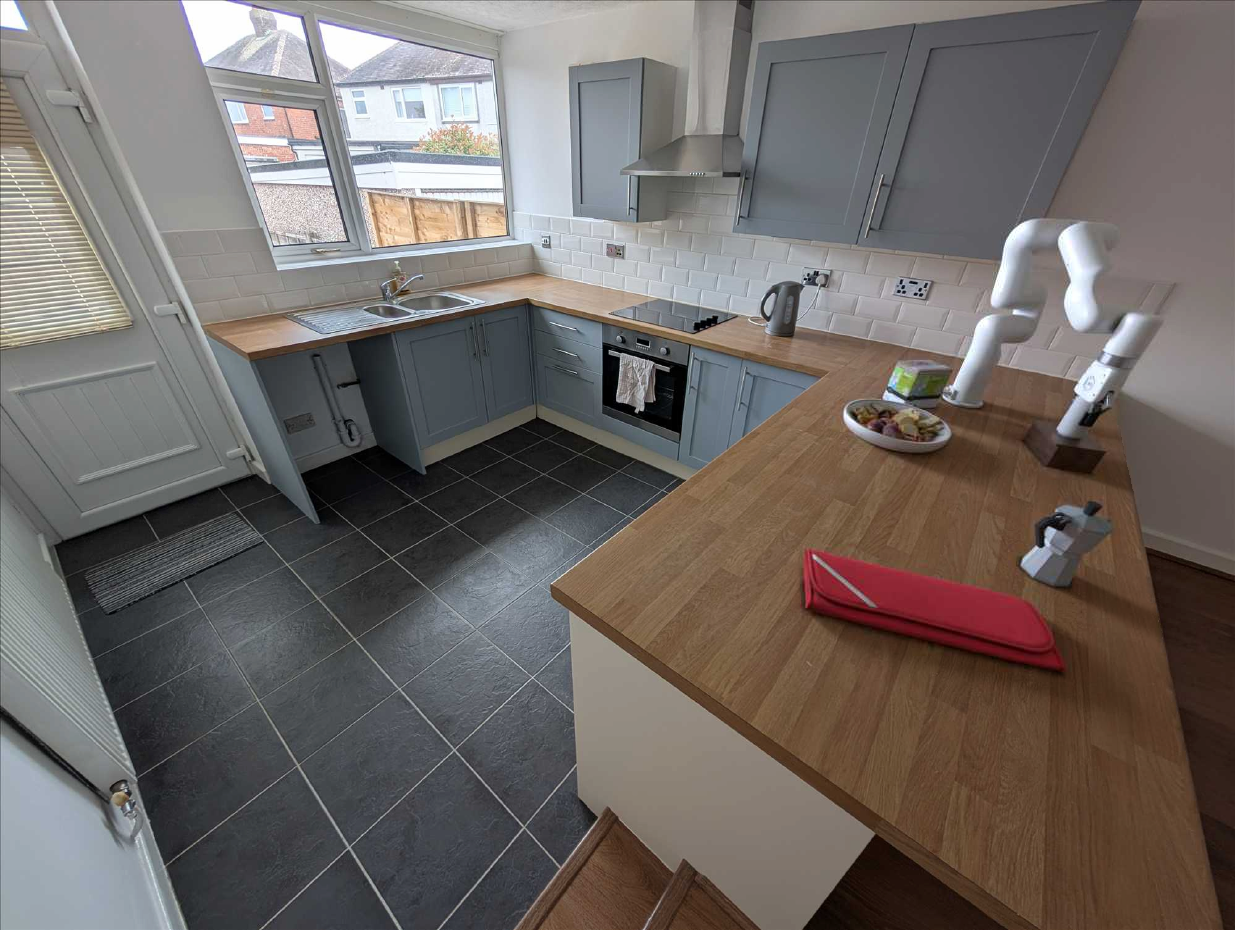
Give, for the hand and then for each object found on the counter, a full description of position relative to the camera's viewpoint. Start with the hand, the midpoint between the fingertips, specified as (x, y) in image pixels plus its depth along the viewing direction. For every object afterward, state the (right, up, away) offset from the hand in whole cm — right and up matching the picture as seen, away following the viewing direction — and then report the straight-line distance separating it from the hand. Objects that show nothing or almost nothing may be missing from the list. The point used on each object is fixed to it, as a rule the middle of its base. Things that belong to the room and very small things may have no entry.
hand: (1078, 419), depth 136 cm
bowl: (-46, -3, +14) cm, 48 cm away
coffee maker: (-44, -36, -36) cm, 67 cm away
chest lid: (-1, -5, +3) cm, 6 cm away
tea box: (-28, +9, +35) cm, 45 cm away
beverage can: (0, -4, +3) cm, 5 cm away
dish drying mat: (-76, -40, -47) cm, 98 cm away
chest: (-1, -10, +7) cm, 12 cm away
